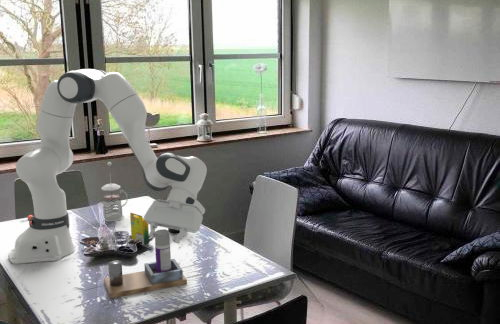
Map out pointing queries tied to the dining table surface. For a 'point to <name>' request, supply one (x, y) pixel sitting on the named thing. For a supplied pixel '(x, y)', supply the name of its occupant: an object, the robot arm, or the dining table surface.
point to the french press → (112, 213)
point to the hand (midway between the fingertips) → (163, 239)
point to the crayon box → (139, 228)
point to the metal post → (115, 273)
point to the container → (162, 251)
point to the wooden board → (147, 280)
